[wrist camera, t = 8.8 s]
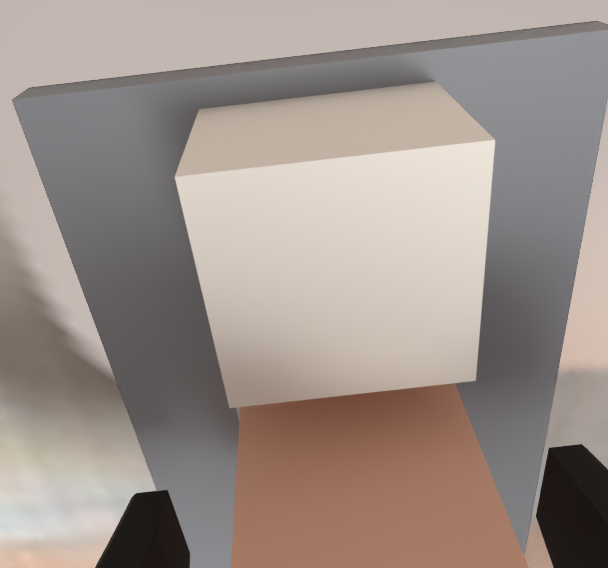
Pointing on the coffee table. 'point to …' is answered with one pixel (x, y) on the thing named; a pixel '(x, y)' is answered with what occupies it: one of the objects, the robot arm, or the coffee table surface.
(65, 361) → the coffee table surface
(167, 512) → the robot arm
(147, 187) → the block set board
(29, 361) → the coffee table surface
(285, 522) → the terracotta block
